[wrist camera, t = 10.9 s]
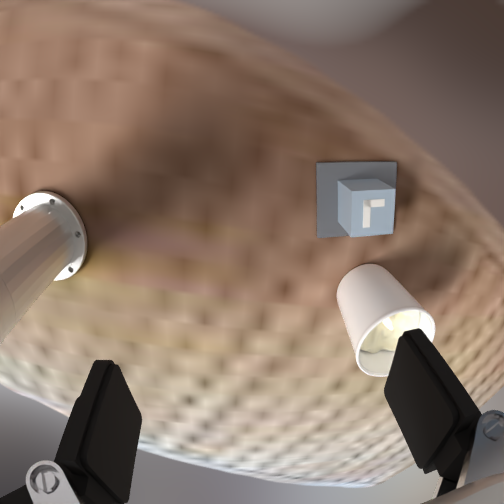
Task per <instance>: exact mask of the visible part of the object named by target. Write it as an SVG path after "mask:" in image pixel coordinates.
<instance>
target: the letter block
mask: <svg viewBox="0 0 504 504" xmlns="http://www.w3.org/2000/svg"><path fill="white" fill-rule="evenodd" d="M394 210H395V189H394V188H393V187H391V186H389V185H388V184H386V183H384V182H382V181H380V180H379V179H357V180H338V222H339V223H340V225H341V226H342V227H343V228H344V229H345V231H346V232H347V233H348V234H349V236H350V237H361V236H372V235H382V234H393V225H394Z"/></svg>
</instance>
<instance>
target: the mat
mask: <svg viewBox="0 0 504 504" xmlns="http://www.w3.org/2000/svg"><path fill="white" fill-rule="evenodd" d="M396 174H397V162H393V161H357V162H316V185H317V237H318V238H325V237H338V236H349V234H348V233H347V232H346V231H345V229H344V228H343V227H342V226H341V225H340V223H339V222H338V180H357V179H379V180H380V181H382V182H384V183H386V184H388V185H389V186H391V187H393V188H394V189H395V195H396Z"/></svg>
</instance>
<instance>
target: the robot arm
mask: <svg viewBox="0 0 504 504" xmlns="http://www.w3.org/2000/svg"><path fill="white" fill-rule="evenodd" d="M86 254H87V235H86V230H85V227H84V224H83V222H82V220H81V218H80V216H79V214H78V212H77V211H76V210H75V208H74V207H73V206H72V205H71V204H70V203H69V202H68V201H67V200H66V199H64V198H63V197H61V196H60V195H58V194H55V193H53V192H48V191H38V192H35V193H32V194H30V195H28V196H27V197H25V198H24V199H23V200H22V201H21V202H20V203H19V204H18V206H17V207H16V210H15V212H14V215H13V218H12V219H11V220H9V221H7V222H6V223H4V224H3V225H1V226H0V345H1V344H2V342H3V341H4V339H5V338H6V337H7V335H8V334H9V333H10V332H11V330H12V329H13V328H14V327H15V325H16V324H17V323H18V322H19V321H20V319H21V318H22V317H23V316H24V314H25V313H26V312H27V311H28V309H29V308H30V307H31V306H32V305H33V303H34V302H35V301H36V300H37V299H38V298H39V296H40V295H41V294H42V293H43V292H44V291H45V289H46V288H47V287H48V286H49V285H50V284H51V283H52V281H53V280H64V279H67V278H69V277H71V276H72V275H74V274H75V273H76V272H77V271H78V270H79V268H80V267H81V266H82V264H83V262H84V260H85V257H86ZM384 394H385V397H386V400H387V402H388V404H389V406H390V408H391V410H392V412H393V414H394V416H395V418H396V421H397V423H398V425H399V427H400V429H401V431H402V433H403V436H404V438H405V440H406V442H407V444H408V447H409V449H410V451H411V453H412V455H413V458H414V460H415V462H416V464H417V466H418V467H419V468H420V469H423V471H424V473H425V474H427V473H429V472H432V471H434V470H438V473H439V475H440V477H439V480H438V483H437V485H436V488H435V491H434V494H433V496H432V499H431V500H429V501H427V502H424V503H422V504H504V413H503V412H501V411H498V410H490V411H487V412H485V413H483V414H481V412H480V411H479V409H478V408H477V406H476V405H475V403H474V402H473V400H472V399H471V397H470V396H469V394H468V393H467V391H466V390H465V388H464V387H463V385H462V384H461V383H460V381H459V380H458V378H457V377H456V375H455V374H454V373H453V371H452V370H451V368H450V367H449V366H448V364H447V363H446V361H445V360H444V359H443V357H442V356H441V355H440V353H439V352H438V350H437V349H436V348H435V346H434V345H433V344H432V342H431V341H430V340H429V338H428V337H427V336H426V334H425V333H424V332H423V331H422V330H421V329H420V328H417V329H412V330H408V331H404V332H403V334H402V336H400V337H399V339H398V342H397V346H396V350H395V354H394V357H393V361H392V364H391V368H390V371H389V375H388V378H387V381H386V384H385V388H384ZM141 424H142V416H141V413H140V411H139V409H138V407H137V405H136V403H135V400H134V398H133V396H132V394H131V392H130V390H129V388H128V385H127V383H126V381H125V379H124V376H123V374H122V372H121V369H120V367H119V366H118V365H115V364H114V362H113V361H112V360H96V361H94V363H93V366H92V368H91V370H90V373H89V375H88V378H87V380H86V383H85V385H84V388H83V390H82V393H81V395H80V397H78V398H77V400H76V401H75V404H74V406H73V409H72V412H71V414H70V417H69V420H68V423H67V425H66V428H65V431H64V434H63V436H62V439H61V442H60V445H59V448H58V451H57V454H56V457H55V460H54V462H52V461H40V462H37V463H36V464H34V465H32V467H31V468H30V469H29V471H28V473H27V475H26V485H24V486H22V487H21V488H19V489H17V490H15V491H13V492H11V493H9V494H7V495H5V496H3V497H1V498H0V504H124V503H127V502H128V500H129V494H130V488H131V481H132V475H133V469H134V462H135V457H136V451H137V446H138V440H139V435H140V429H141Z"/></svg>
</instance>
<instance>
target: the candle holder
mask: <svg viewBox="0 0 504 504" xmlns="http://www.w3.org/2000/svg"><path fill="white" fill-rule="evenodd" d="M337 302H338V306H339V309H340V312H341V314H342V317H343V320H344V323H345V326H346V329H347V332H348V335H349V338H350V341H351V344H352V347H353V350H354V353H355V356H356V361H357V364H358V366H359V368H360V369H361V370H362V371H363V372H365V373H366V374H368V375H371V376H377V377H384V376H388V375H389V371H390V368H391V364H392V361H393V357H394V354H395V350H396V346H397V342H398V339H399V337H400V336H402V334H403V332H404V331H408V330H412V329H417V328H420V329H421V330H422V331H423V332H424V333H425V334H426V336H427V337H428V338H429V340H430V341H431V342H432V341H433V339H434V335H435V322H434V320H433V318H432V316H431V315H430V314H429V313H428V312H427V311H426V310H425V309H424V308H423V307H422V306H421V305H420V304H419V303H418V302H417V301H416V299H415V298H414V297H413V296H412V295H411V294H410V293H409V292H408V291H407V290H406V289H405V288H404V287H403V286H402V285H401V284H400V283H399V282H398V281H397V280H396V278H395V277H394V276H393V275H392V274H391V273H389V272H388V271H387V270H386V269H385V268H384V267H382V266H380V265H377V264H364V265H360V266H358V267H356V268H354V269H352V270H351V271H349V272H348V273H347V274H346V275H345V276H344V277H343V279H342V280H341V282H340V284H339V286H338V289H337Z"/></svg>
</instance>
